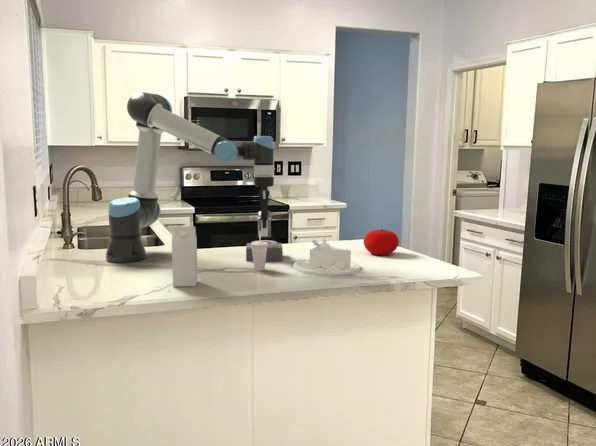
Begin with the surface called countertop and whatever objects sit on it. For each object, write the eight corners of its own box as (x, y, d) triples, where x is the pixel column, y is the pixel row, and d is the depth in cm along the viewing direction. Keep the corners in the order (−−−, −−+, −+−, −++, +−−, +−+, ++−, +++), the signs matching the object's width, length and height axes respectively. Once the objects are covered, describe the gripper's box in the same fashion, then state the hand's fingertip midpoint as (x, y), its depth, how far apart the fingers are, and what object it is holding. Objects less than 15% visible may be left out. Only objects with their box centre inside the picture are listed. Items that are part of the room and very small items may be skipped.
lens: (257, 238, 217) (257, 212, 216) (257, 235, 222) (257, 210, 221) (271, 237, 218) (271, 212, 216) (270, 235, 223) (270, 210, 221)
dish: (282, 272, 199) (282, 241, 197) (307, 258, 222) (307, 231, 220) (348, 279, 190) (349, 246, 188) (367, 264, 213) (368, 235, 211)
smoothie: (270, 268, 204) (270, 230, 202) (264, 272, 198) (264, 233, 196) (254, 266, 206) (254, 229, 204) (247, 270, 200) (247, 232, 198)
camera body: (246, 261, 215) (246, 245, 215) (246, 255, 226) (246, 240, 225) (282, 260, 216) (282, 245, 216) (281, 255, 227) (281, 240, 226)
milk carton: (175, 281, 184) (174, 224, 182) (197, 281, 185) (196, 224, 182) (172, 287, 177) (171, 228, 175) (195, 286, 178) (194, 228, 175)
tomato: (359, 255, 227) (360, 230, 226) (367, 249, 239) (368, 225, 238) (394, 258, 222) (395, 232, 221) (400, 252, 234) (401, 228, 232)
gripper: (274, 177, 208) (274, 239, 211) (273, 174, 226) (273, 231, 229) (254, 177, 207) (254, 239, 211) (254, 174, 225) (255, 231, 229)
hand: (264, 234), depth 220 cm, fingers closed on lens, 5 cm apart
